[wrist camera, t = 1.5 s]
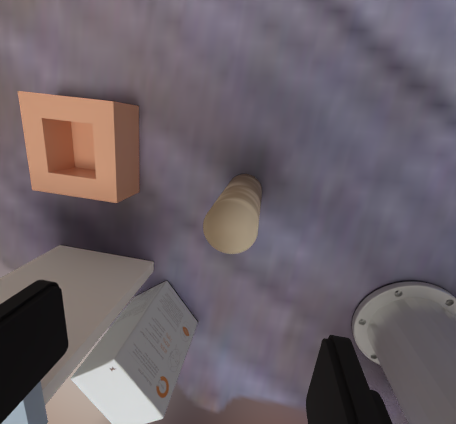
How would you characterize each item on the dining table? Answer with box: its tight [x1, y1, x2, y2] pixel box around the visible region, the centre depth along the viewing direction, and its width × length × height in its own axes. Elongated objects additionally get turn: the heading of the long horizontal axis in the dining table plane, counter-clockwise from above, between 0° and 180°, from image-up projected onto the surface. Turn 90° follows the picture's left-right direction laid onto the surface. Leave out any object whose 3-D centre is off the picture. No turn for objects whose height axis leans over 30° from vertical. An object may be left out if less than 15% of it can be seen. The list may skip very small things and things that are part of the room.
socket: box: [18, 91, 139, 203], centre depth 28 cm, size 10×10×5 cm
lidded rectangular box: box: [0, 245, 154, 424], centre depth 25 cm, size 16×8×20 cm, turn 84°
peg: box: [203, 174, 262, 254], centre depth 24 cm, size 4×4×12 cm
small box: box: [71, 281, 198, 424], centre depth 31 cm, size 8×6×13 cm
